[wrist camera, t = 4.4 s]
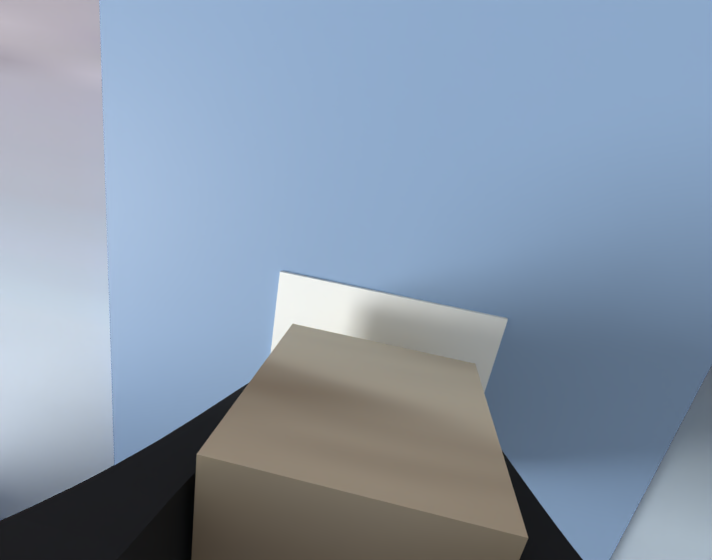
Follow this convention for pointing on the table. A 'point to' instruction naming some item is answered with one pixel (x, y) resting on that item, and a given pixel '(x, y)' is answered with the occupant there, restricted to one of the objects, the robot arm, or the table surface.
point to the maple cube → (356, 460)
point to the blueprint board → (421, 214)
